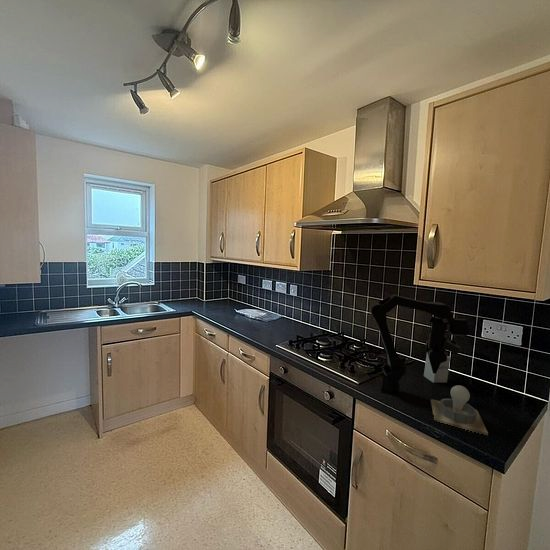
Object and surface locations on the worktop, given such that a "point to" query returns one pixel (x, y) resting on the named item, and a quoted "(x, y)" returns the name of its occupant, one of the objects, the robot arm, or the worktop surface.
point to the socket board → (458, 416)
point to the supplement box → (441, 372)
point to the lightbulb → (459, 397)
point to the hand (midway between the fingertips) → (433, 369)
